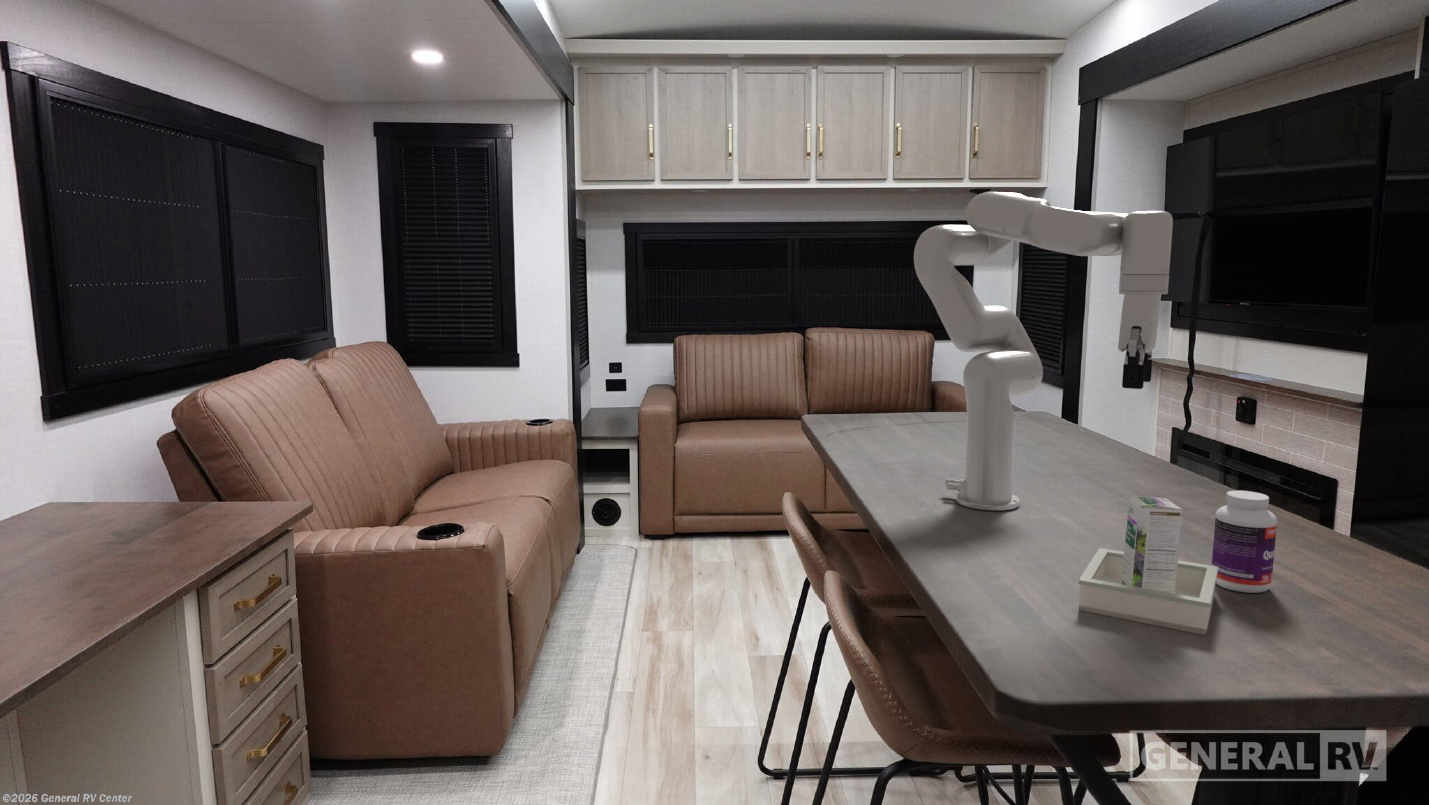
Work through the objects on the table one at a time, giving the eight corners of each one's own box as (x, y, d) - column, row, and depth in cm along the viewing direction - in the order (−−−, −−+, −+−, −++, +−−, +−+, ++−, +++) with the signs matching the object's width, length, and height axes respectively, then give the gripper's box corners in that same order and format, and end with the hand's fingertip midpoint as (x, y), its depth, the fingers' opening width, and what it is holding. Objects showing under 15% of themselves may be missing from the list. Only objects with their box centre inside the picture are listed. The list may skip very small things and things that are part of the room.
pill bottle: (1271, 599, 127) (1280, 505, 125) (1208, 589, 131) (1216, 497, 129) (1270, 582, 134) (1279, 492, 131) (1211, 572, 138) (1218, 485, 136)
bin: (1076, 610, 124) (1078, 580, 123) (1097, 575, 137) (1099, 547, 137) (1207, 636, 115) (1210, 603, 114) (1216, 596, 128) (1218, 566, 128)
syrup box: (1119, 589, 129) (1126, 495, 127) (1161, 590, 129) (1168, 496, 126) (1133, 603, 124) (1140, 506, 122) (1176, 605, 123) (1184, 507, 121)
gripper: (1127, 283, 156) (1121, 377, 158) (1110, 286, 141) (1104, 389, 144) (1173, 284, 152) (1166, 380, 154) (1161, 286, 137) (1154, 392, 140)
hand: (1136, 384), depth 149 cm, fingers open, 9 cm apart
